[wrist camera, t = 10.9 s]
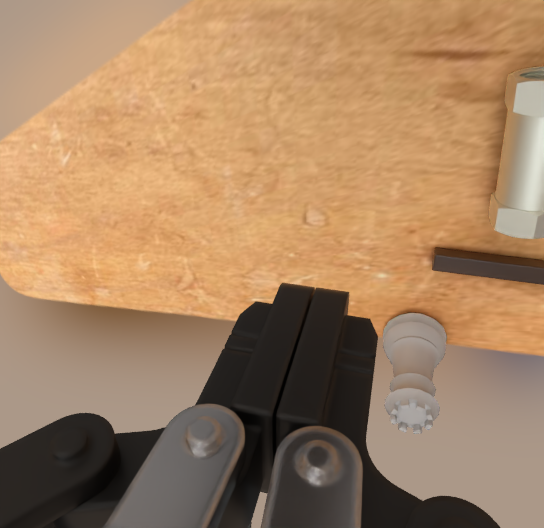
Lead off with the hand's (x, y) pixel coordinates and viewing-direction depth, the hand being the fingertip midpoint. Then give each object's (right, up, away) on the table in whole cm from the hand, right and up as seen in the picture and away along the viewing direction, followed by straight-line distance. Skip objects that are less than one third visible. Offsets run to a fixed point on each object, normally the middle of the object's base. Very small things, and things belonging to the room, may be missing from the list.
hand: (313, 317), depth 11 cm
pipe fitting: (+15, +8, +15) cm, 23 cm away
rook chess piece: (+10, -4, +24) cm, 26 cm away
